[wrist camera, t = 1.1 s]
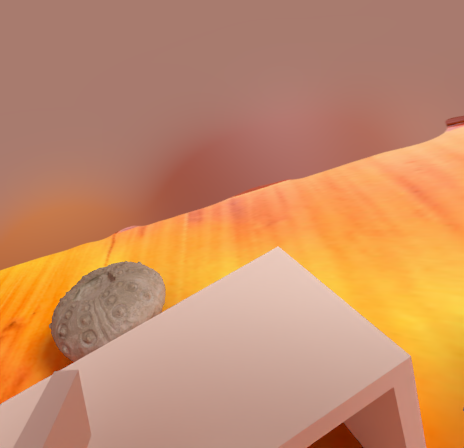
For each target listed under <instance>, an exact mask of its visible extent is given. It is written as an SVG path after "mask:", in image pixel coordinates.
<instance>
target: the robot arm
mask: <svg viewBox="0 0 464 448" xmlns="http://www.w3.org/2000/svg"><path fill="white" fill-rule="evenodd" d="M463 411H464V408H463ZM90 438H91V430H90V425H89V420H88V415H87V410H86V405H85V400H84V395H83V390H82V385H81V380H80V375H79V370H66V371H54V373H53V375H52V377H51V378H50V380H49V382H48V384H47V386H46V388H45V390H44V391H43V393H42V395H41V397H40V399H39V401H38V403H37V404H36V406H35V408H34V410H33V412H32V414H31V416H30V417H29V419H28V421H27V423H26V425H25V427H24V429H23V430H22V432H21V434H20V436H19V438H18V440H17V442H16V444H15V445H14V447H13V448H87V447H88V444H89V441H90Z"/></svg>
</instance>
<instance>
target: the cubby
mask: <svg viewBox="0 0 464 448" xmlns="http://www.w3.org/2000/svg"><path fill="white" fill-rule="evenodd" d="M66 370H79V375H80V380H81V385H82V390H83V395H84V400H85V405H86V410H87V415H88V420H89V425H90V430H91V438H90V441H89V444H88V447H87V448H307V447H308V446H310V445H311V444H313V443H314V442H315V441H317V440H318V439H320V438H321V437H323V436H324V435H325V434H327V433H328V432H330V431H331V430H333V429H334V428H335V427H337V426H338V425H340V424H341V423H344V424H345V425H346V427H347V428H348V429H349V430H350V432H351V433H352V434H353V435H354V437H355V438H356V439H357V440H358V441H359V443H360V444H361V445H362V446H363V448H426V444H425V438H424V432H423V426H422V420H421V414H420V408H419V402H418V396H417V390H416V384H415V378H414V372H413V366H412V360H411V356H410V355H409V354H408V353H406V352H405V351H404V350H403V349H401V348H400V347H399V346H398V345H397V344H395V343H394V342H393V341H392V340H391V339H389V338H388V337H387V336H386V335H385V334H383V333H382V332H381V331H380V330H379V329H377V328H376V327H375V326H374V325H373V324H371V323H370V322H369V321H368V320H366V319H365V318H364V317H363V316H362V315H360V314H359V313H358V312H357V311H356V310H354V309H353V308H352V307H351V306H350V305H348V304H347V303H346V302H345V301H344V300H342V299H341V298H340V297H339V296H338V295H336V294H335V293H334V292H333V291H332V290H330V289H329V288H328V287H327V286H325V285H324V284H323V283H322V282H321V281H319V280H318V279H317V278H316V277H315V276H313V275H312V274H311V273H310V272H309V271H307V270H306V269H305V268H304V267H303V266H301V265H300V264H299V263H298V262H297V261H295V260H294V259H293V258H292V257H290V256H289V255H288V254H287V253H286V252H284V251H283V250H282V249H281V248H280V247H276V248H274V249H273V250H271V251H269V252H267V253H266V254H264V255H262V256H260V257H259V258H257V259H255V260H253V261H252V262H250V263H248V264H246V265H245V266H243V267H241V268H239V269H237V270H236V271H234V272H232V273H230V274H229V275H227V276H225V277H223V278H222V279H220V280H218V281H216V282H215V283H213V284H211V285H209V286H208V287H206V288H204V289H202V290H201V291H199V292H197V293H195V294H193V295H192V296H190V297H188V298H186V299H185V300H183V301H181V302H179V303H178V304H176V305H174V306H172V307H171V308H169V309H167V310H165V311H164V312H162V313H160V314H158V315H156V316H155V317H153V318H151V319H149V320H148V321H146V322H144V323H142V324H141V325H139V326H137V327H135V328H134V329H132V330H130V331H128V332H127V333H125V334H123V335H121V336H120V337H118V338H116V339H114V340H112V341H111V342H109V343H107V344H105V345H104V346H102V347H100V348H98V349H97V350H95V351H93V352H91V353H90V354H88V355H86V356H84V357H83V358H81V359H79V360H77V361H76V362H74V363H72V364H70V365H68V366H67V367H65V368H63V369H61V370H60V371H66ZM51 377H52V375H51V376H49V377H47V378H46V379H44V380H42V381H40V382H39V383H37V384H35V385H33V386H31V387H30V388H28V389H26V390H24V391H23V392H21V393H19V394H17V395H16V396H14V397H12V398H10V399H9V400H7V401H5V402H3V403H2V404H0V448H13V447H14V445H15V444H16V442H17V440H18V438H19V436H20V434H21V432H22V430H23V429H24V427H25V425H26V423H27V421H28V419H29V417H30V416H31V414H32V412H33V410H34V408H35V406H36V404H37V403H38V401H39V399H40V397H41V395H42V393H43V391H44V390H45V388H46V386H47V384H48V382H49V380H50V378H51Z"/></svg>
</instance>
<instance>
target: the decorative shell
mask: <svg viewBox="0 0 464 448" xmlns="http://www.w3.org/2000/svg"><path fill="white" fill-rule="evenodd" d="M164 303H165V285H164V283H163V279H162V277H161V276H160V274H159V273H157V272H156V271H155V270H153V269H151V268H149V267H147V266H145V265H142V264H141V262H138V263H134V262H127V261H126V262H120V263H115V264H111V265H109V266H107V267H104V268H99V269H97V270H94V271H92V272H90V273H89V274H88V275H85V276H83V277H82V279H81V280H80V281H79V282H78V283H77V285H75V286H74V287H72V288H71V290H70V291H69V292H66V295H65V296H64V297H63V298H61V299H60V302H59V304H58V305H57V306H56V309H55V311H54V313H53V317H52V323H51V324H50V325H49V327H50V328H51V330H52V332H51V333H52V336H53V338H54V341H55V343H56V345H57V347H58V348H59V350H60V351H61V352H62V353H63V354H64V355H65V356H66V357H68V358H69V359H70V360H71V361H73V362H76V361H77V360H79V359H81V358H83V357H84V356H86V355H88V354H90V353H91V352H93V351H95V350H97V349H98V348H100V347H102V346H104V345H105V344H107V343H109V342H111V341H112V340H114V339H116V338H118V337H120V336H121V335H123V334H125V333H127V332H128V331H130V330H132V329H134V328H135V327H137V326H139V325H141V324H142V323H144V322H146V321H148V320H149V319H151V318H153V317H155V316H156V315H158V314H160V313H162V307H163V305H164Z"/></svg>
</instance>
